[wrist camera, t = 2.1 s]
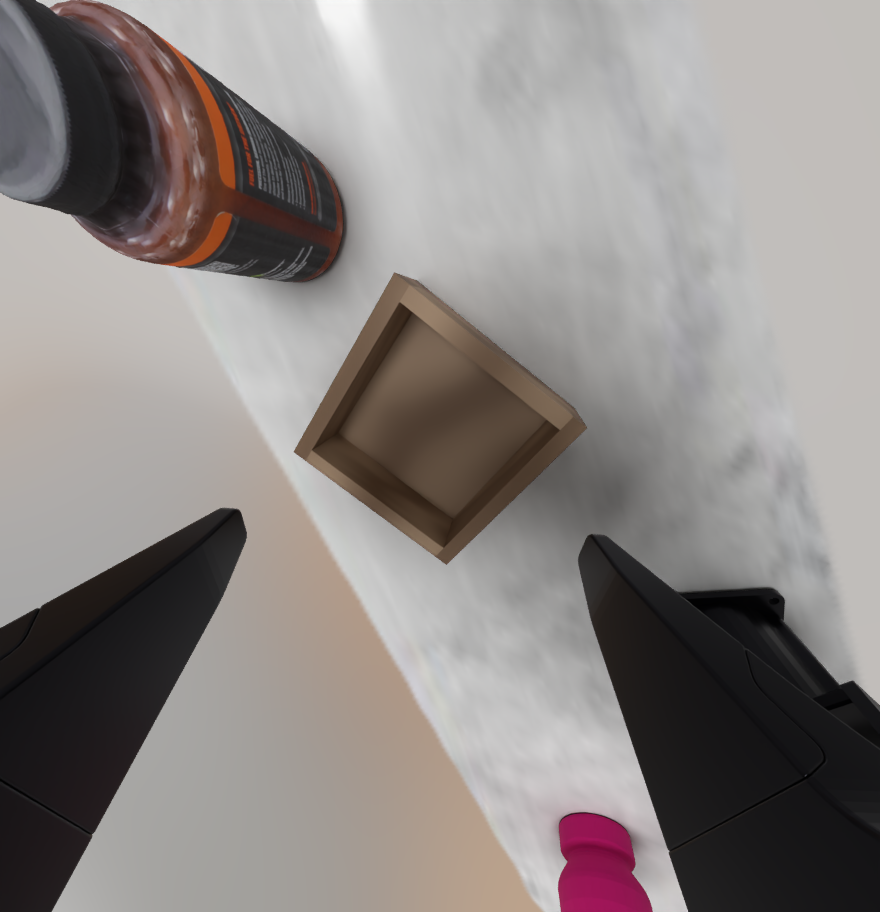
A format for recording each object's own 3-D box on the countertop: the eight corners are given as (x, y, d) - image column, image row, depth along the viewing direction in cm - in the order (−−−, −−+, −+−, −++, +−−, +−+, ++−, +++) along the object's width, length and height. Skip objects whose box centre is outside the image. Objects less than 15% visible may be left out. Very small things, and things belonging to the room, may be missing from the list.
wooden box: (574, 408, 18) (587, 427, 15) (456, 529, 23) (446, 564, 19) (416, 280, 17) (394, 272, 14) (325, 432, 22) (293, 451, 19)
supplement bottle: (287, 112, 16) (-130, -259, 6) (371, 224, 17) (149, 85, 7) (221, 215, 18) (-158, 85, 8) (299, 308, 19) (52, 300, 9)
